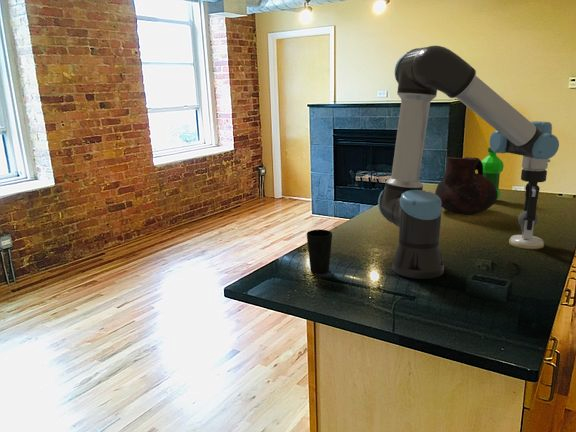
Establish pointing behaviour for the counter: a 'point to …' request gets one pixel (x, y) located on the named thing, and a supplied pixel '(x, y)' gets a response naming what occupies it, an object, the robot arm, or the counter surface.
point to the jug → (465, 187)
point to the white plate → (526, 242)
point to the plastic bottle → (492, 169)
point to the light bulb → (522, 221)
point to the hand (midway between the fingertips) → (527, 235)
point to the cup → (319, 250)
